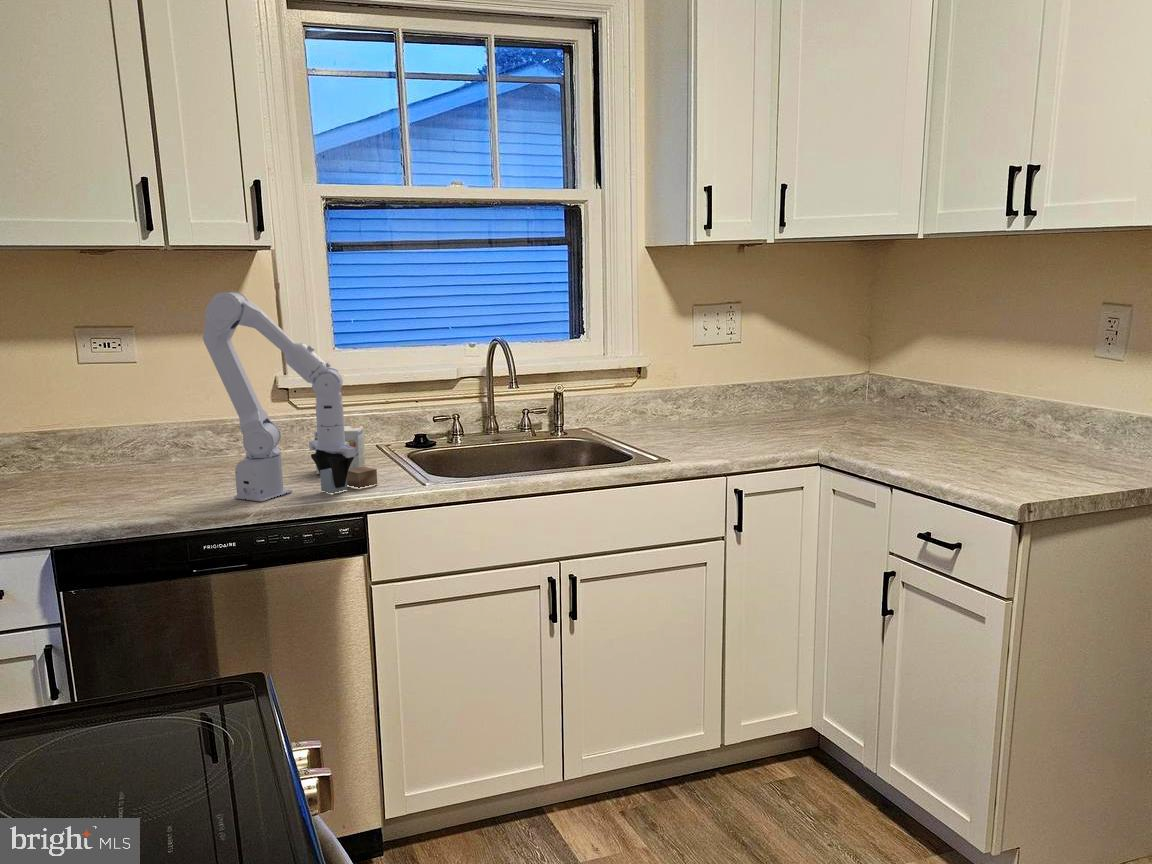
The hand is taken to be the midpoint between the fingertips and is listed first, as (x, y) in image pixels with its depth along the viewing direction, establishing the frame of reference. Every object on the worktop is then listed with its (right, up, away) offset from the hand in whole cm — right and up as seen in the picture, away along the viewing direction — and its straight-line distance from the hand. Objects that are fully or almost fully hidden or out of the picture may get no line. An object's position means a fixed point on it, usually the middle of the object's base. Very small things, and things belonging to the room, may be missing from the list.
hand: (334, 485), depth 196 cm
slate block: (0, -1, 0) cm, 1 cm away
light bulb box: (-4, +2, +20) cm, 21 cm away
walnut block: (+5, -1, +5) cm, 7 cm away
